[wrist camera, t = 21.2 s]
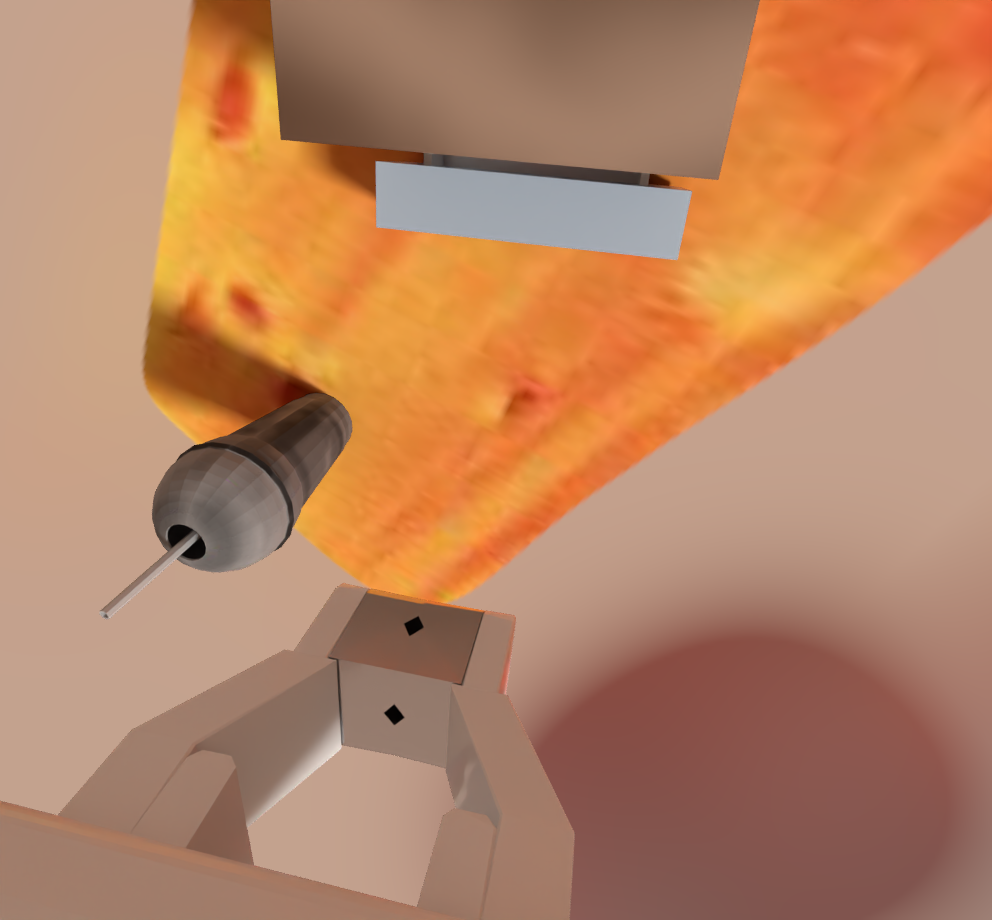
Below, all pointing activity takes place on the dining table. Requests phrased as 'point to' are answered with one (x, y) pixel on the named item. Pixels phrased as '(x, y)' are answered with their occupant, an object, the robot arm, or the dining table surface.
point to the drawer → (532, 204)
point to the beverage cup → (243, 489)
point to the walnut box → (517, 78)
